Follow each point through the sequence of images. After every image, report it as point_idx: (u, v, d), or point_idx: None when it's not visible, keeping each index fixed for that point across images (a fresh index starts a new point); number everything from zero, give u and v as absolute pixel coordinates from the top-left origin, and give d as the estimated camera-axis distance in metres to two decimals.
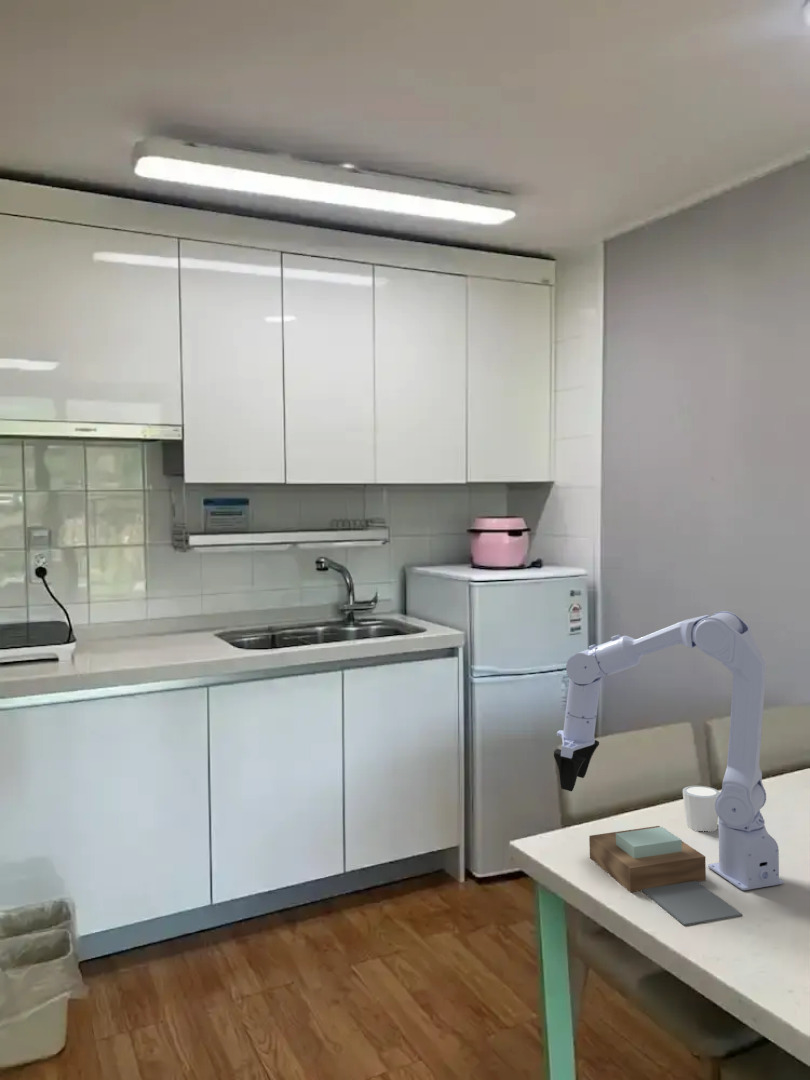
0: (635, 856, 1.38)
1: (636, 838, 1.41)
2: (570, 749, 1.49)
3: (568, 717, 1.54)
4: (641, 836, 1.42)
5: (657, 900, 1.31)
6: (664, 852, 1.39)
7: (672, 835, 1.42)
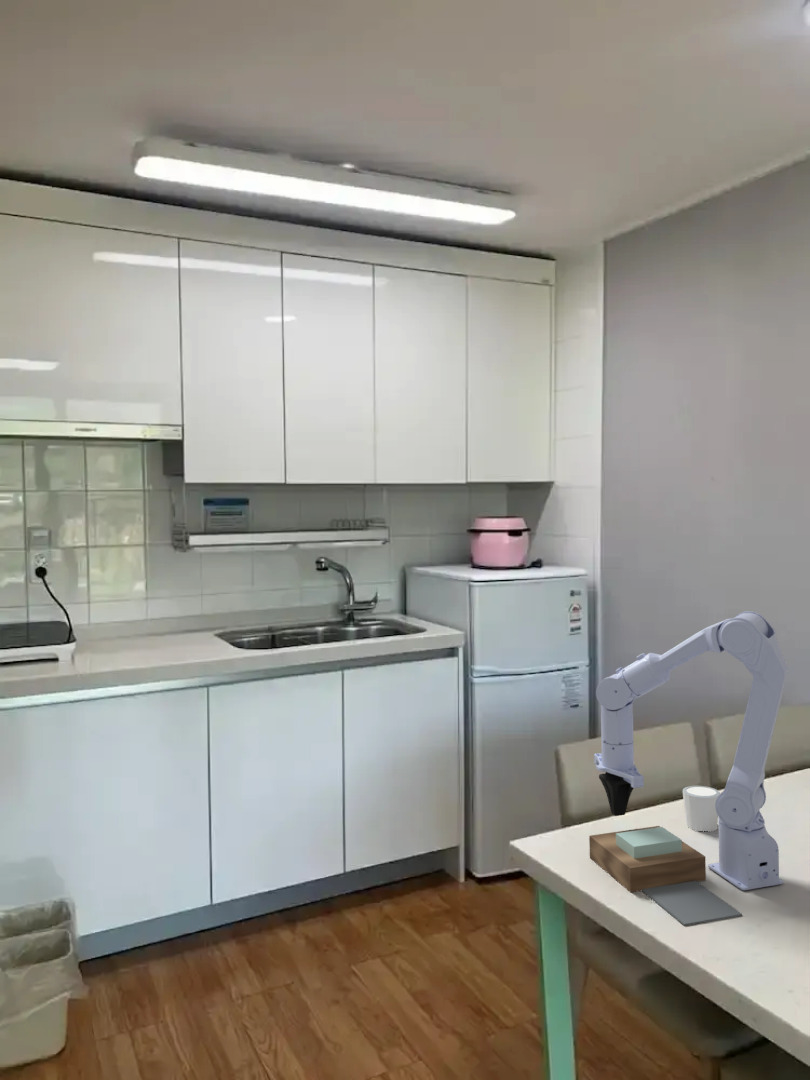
0: (635, 856, 1.38)
1: (636, 838, 1.41)
2: (642, 777, 1.44)
3: (615, 748, 1.49)
4: (641, 836, 1.42)
5: (657, 900, 1.31)
6: (664, 852, 1.39)
7: (672, 835, 1.42)
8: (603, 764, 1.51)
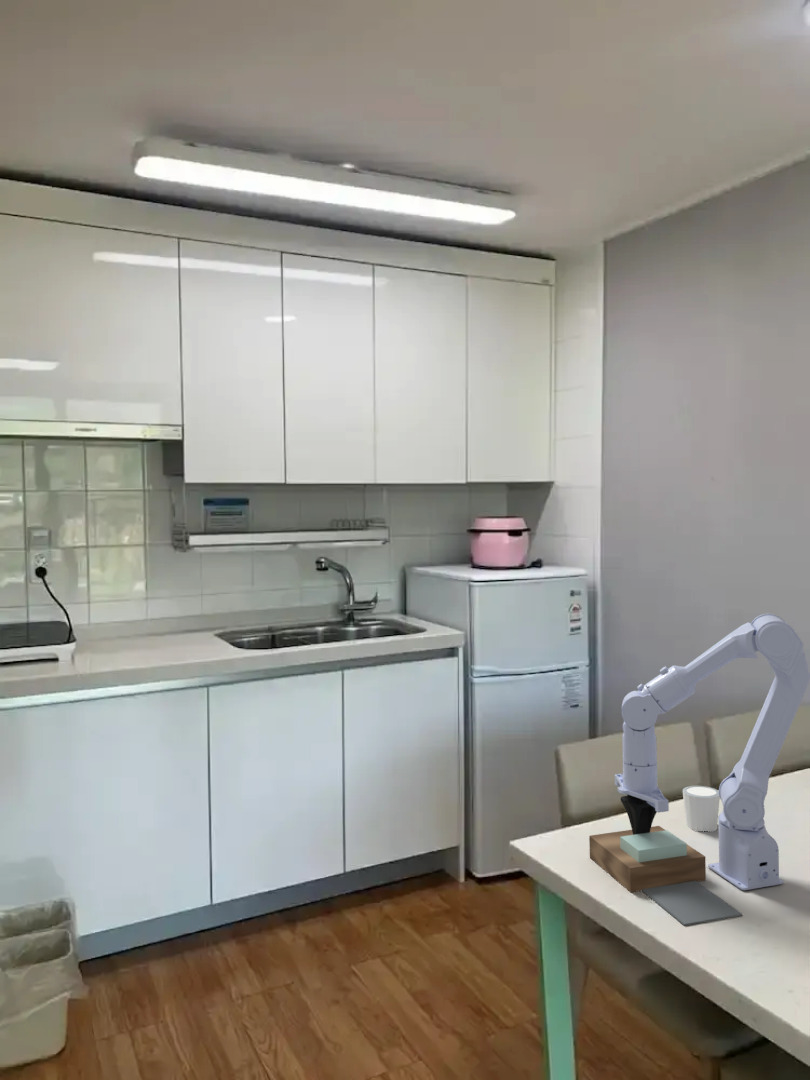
0: (640, 860, 1.37)
1: (641, 842, 1.40)
2: (667, 801, 1.37)
3: (637, 769, 1.41)
4: (646, 840, 1.41)
5: (657, 900, 1.31)
6: (669, 856, 1.38)
7: (677, 839, 1.41)
8: (625, 786, 1.43)
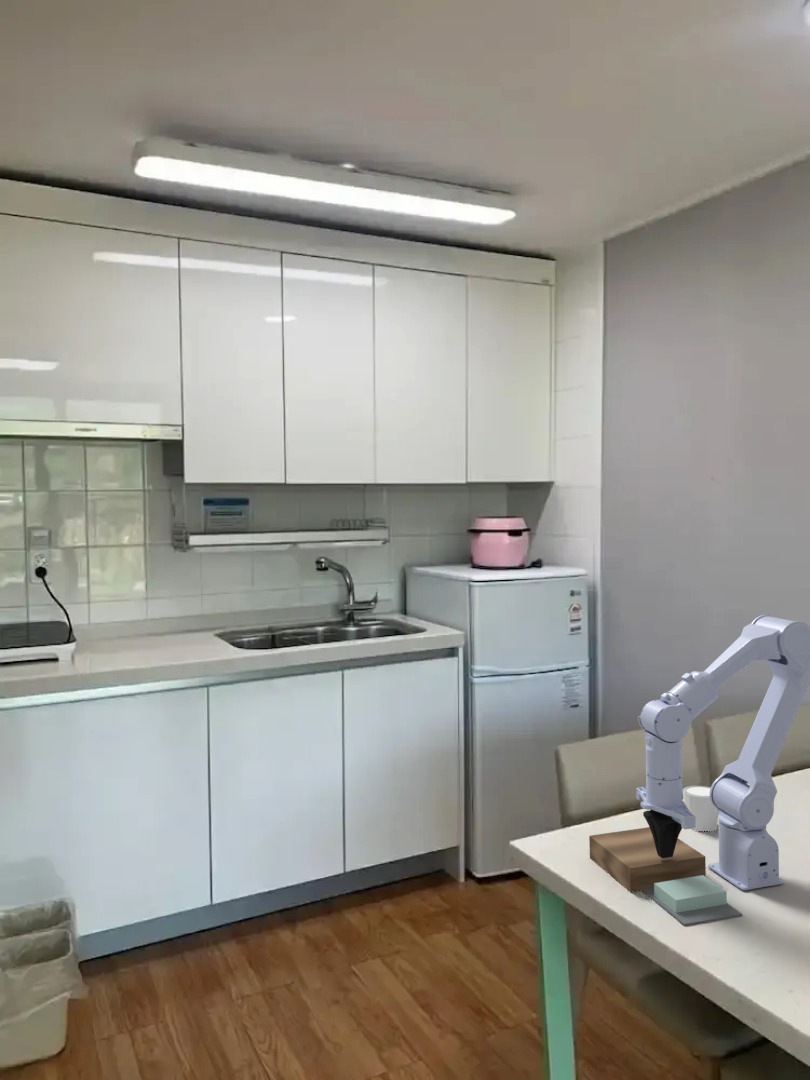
0: None
1: None
2: (694, 817, 1.30)
3: (662, 783, 1.34)
4: None
5: (657, 900, 1.31)
6: None
7: None
8: (648, 801, 1.36)
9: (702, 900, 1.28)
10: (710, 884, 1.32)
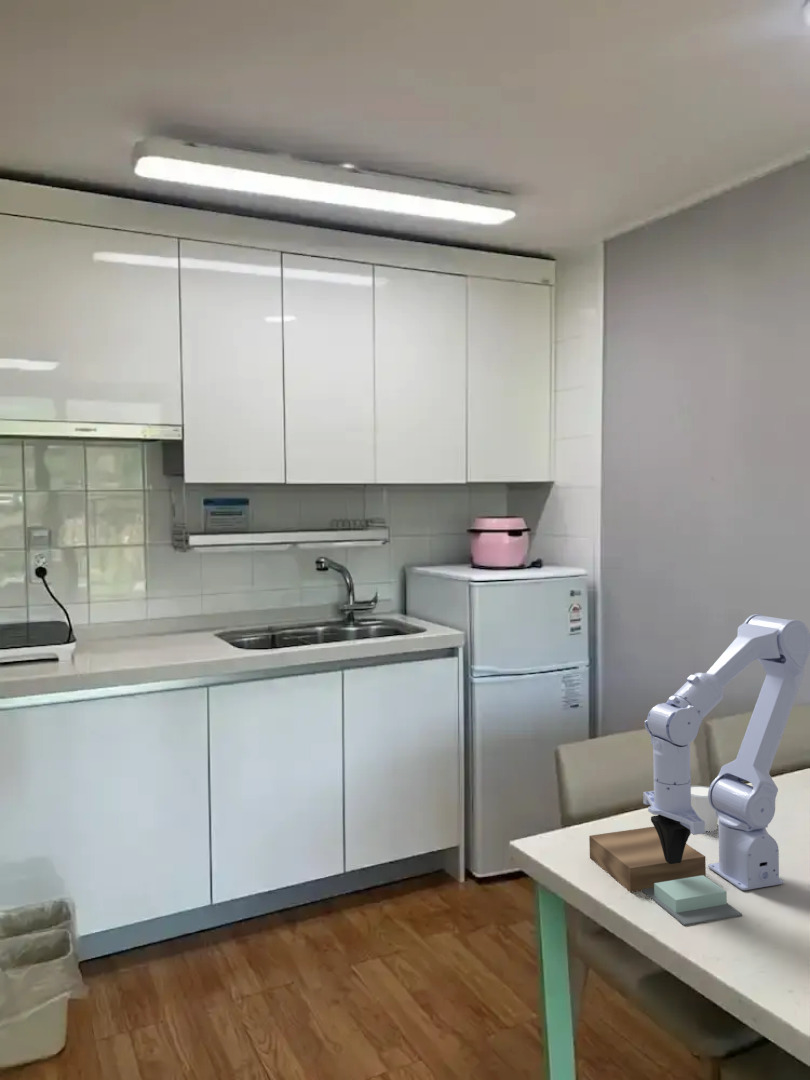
0: None
1: None
2: (703, 823, 1.28)
3: (670, 788, 1.32)
4: None
5: (657, 900, 1.31)
6: None
7: None
8: (656, 806, 1.34)
9: (702, 900, 1.28)
10: (710, 884, 1.32)
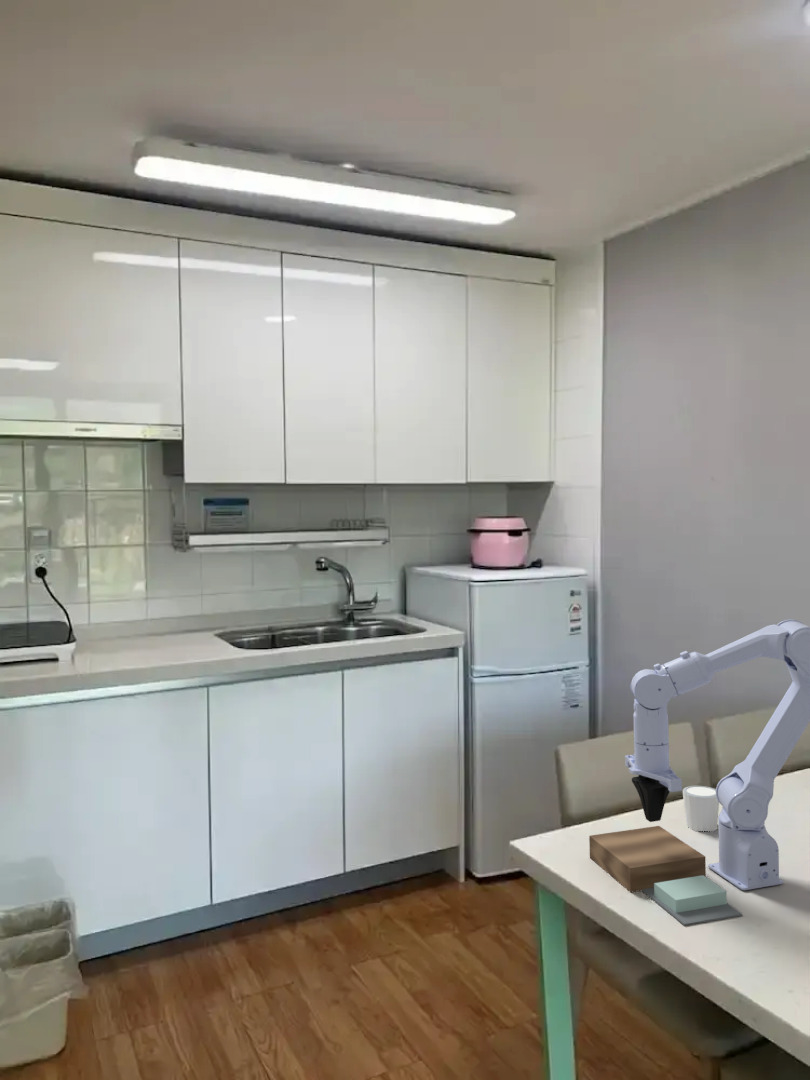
0: None
1: None
2: (680, 780, 1.35)
3: (649, 749, 1.39)
4: None
5: (657, 900, 1.31)
6: None
7: None
8: (636, 766, 1.41)
9: (702, 900, 1.28)
10: (710, 884, 1.32)
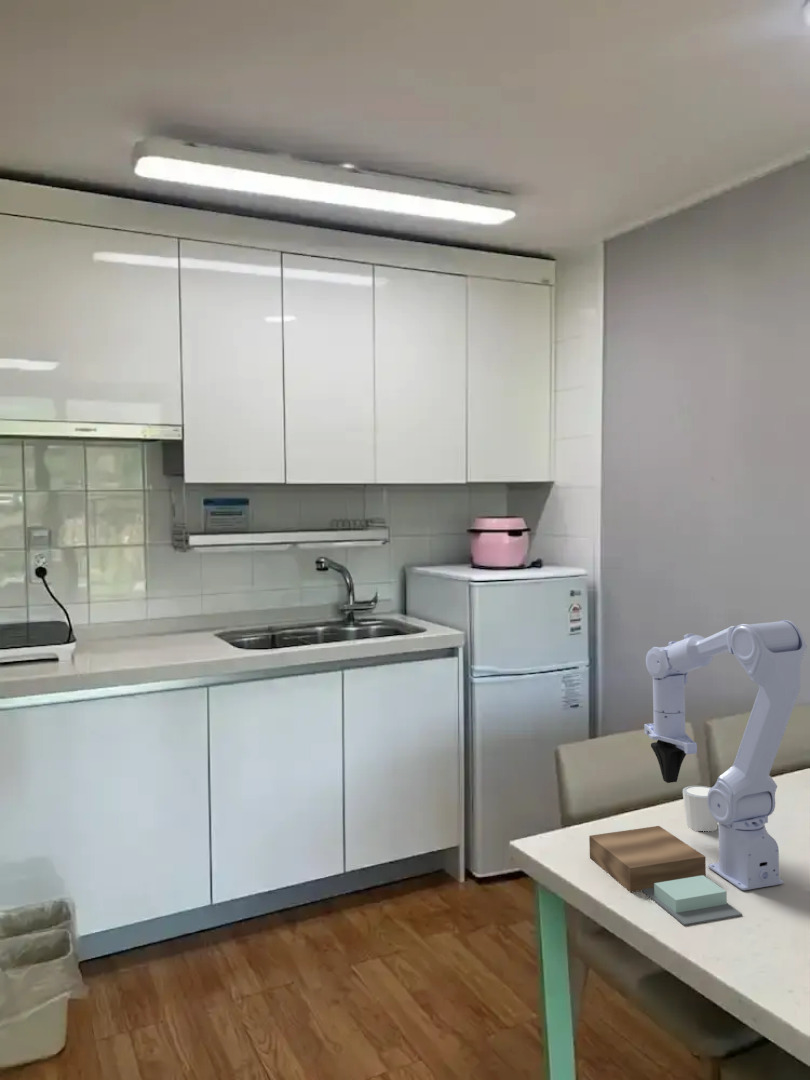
0: None
1: None
2: (695, 744, 1.49)
3: (667, 716, 1.53)
4: None
5: (657, 900, 1.31)
6: None
7: None
8: (655, 732, 1.55)
9: (702, 900, 1.28)
10: (710, 884, 1.32)
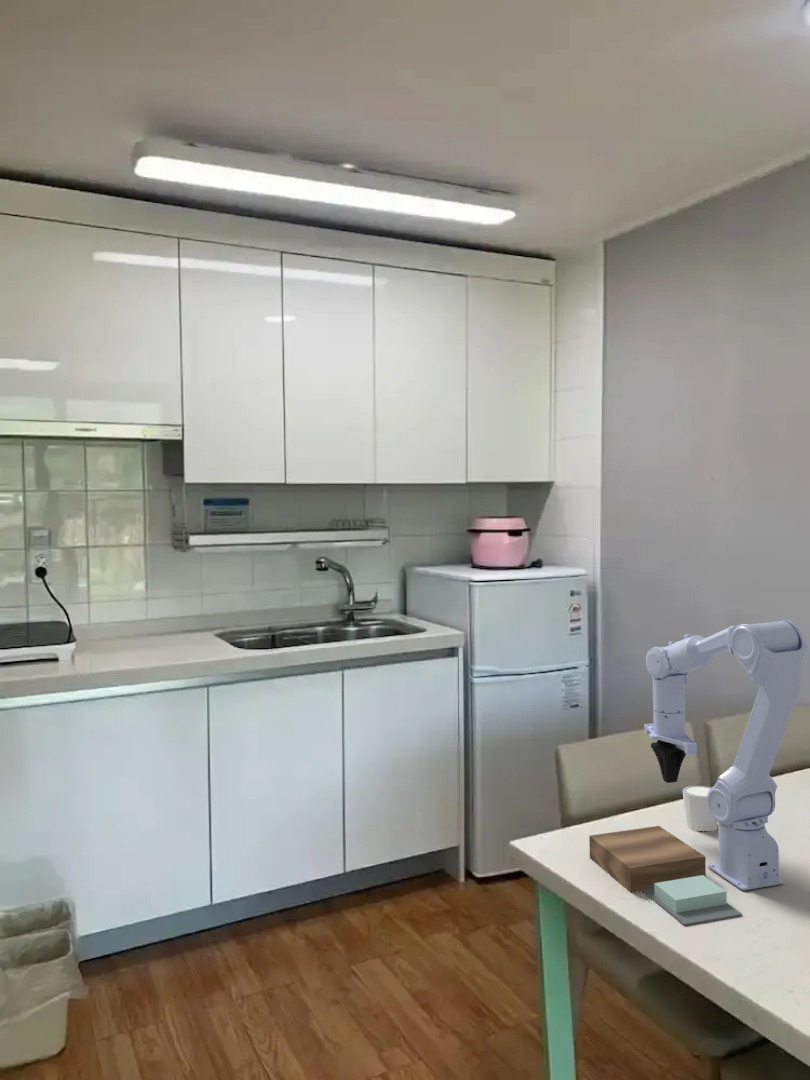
0: None
1: None
2: (695, 744, 1.49)
3: (667, 716, 1.53)
4: None
5: (657, 900, 1.31)
6: None
7: None
8: (655, 732, 1.55)
9: (702, 900, 1.28)
10: (710, 884, 1.32)
